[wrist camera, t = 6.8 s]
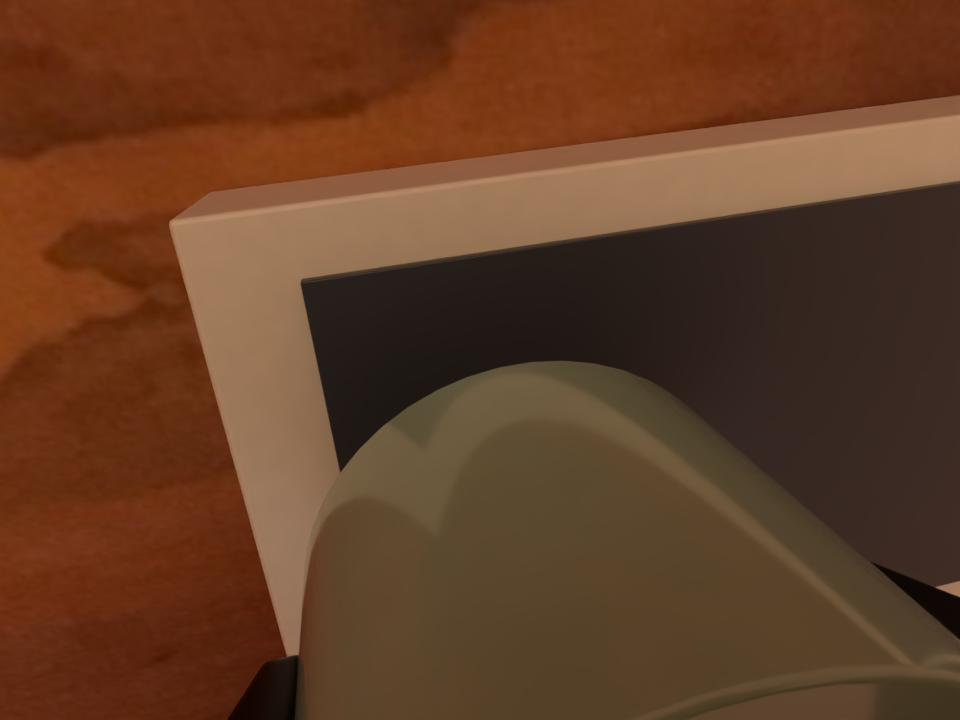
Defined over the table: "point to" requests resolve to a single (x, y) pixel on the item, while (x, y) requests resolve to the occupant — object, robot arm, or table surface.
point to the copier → (611, 310)
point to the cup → (594, 572)
